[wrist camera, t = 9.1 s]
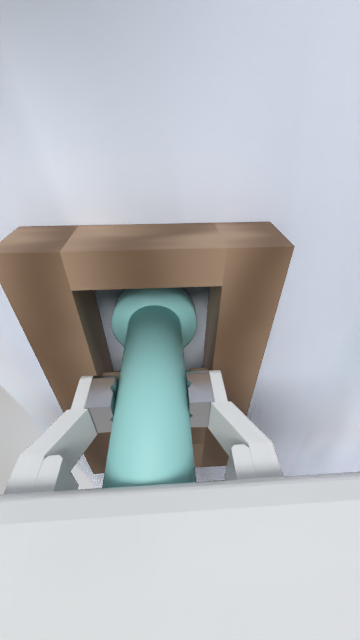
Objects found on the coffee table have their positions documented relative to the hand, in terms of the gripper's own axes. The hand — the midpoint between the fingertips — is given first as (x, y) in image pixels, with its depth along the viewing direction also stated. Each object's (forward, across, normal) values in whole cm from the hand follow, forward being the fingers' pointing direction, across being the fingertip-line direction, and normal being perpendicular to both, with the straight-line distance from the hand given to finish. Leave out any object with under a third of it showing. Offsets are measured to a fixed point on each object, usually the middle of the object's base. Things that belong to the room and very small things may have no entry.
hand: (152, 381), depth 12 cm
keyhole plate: (+5, 0, +5) cm, 7 cm away
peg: (+5, 0, 0) cm, 5 cm away
